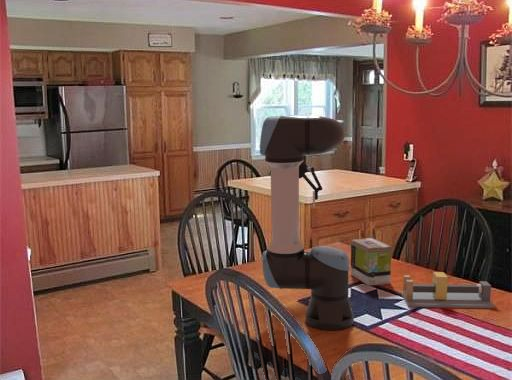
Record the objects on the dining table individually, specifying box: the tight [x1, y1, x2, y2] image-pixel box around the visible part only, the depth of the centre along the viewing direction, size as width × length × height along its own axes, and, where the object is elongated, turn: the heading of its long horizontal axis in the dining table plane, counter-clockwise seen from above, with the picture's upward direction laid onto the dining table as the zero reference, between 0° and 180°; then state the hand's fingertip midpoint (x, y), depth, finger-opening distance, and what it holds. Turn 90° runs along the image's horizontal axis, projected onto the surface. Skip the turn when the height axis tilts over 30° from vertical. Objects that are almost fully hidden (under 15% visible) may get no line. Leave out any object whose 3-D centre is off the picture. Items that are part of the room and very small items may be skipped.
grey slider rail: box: [401, 274, 495, 309], centre depth 184 cm, size 12×28×8 cm, turn 85°
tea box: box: [350, 237, 392, 286], centre depth 208 cm, size 15×10×15 cm, turn 17°
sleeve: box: [432, 271, 449, 300], centre depth 184 cm, size 5×4×8 cm
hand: (296, 208), depth 213 cm, fingers open, 13 cm apart
